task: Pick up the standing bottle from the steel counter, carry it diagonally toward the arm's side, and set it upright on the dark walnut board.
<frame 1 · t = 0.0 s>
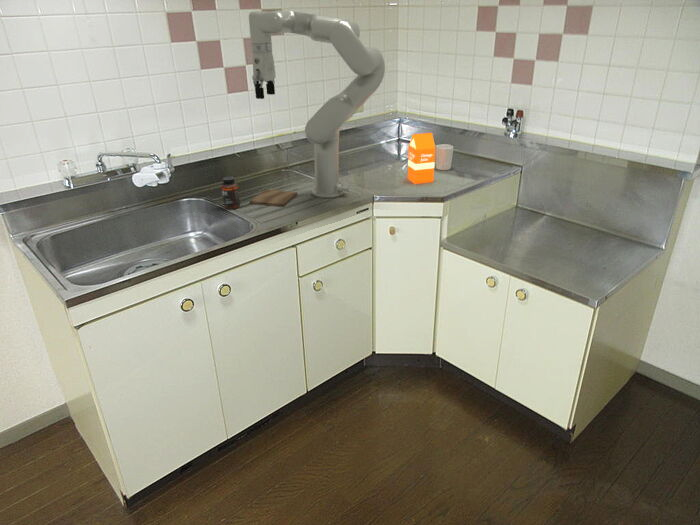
hand: (265, 96, 202), 37 cm above the worktop, tool pointing down, fingers open, 9 cm apart
supplement bottle: (232, 207, 200), on the worktop
walnut board: (274, 199, 207), on the worktop
orange juice: (420, 180, 226), on the worktop
white cup: (443, 168, 241), on the worktop
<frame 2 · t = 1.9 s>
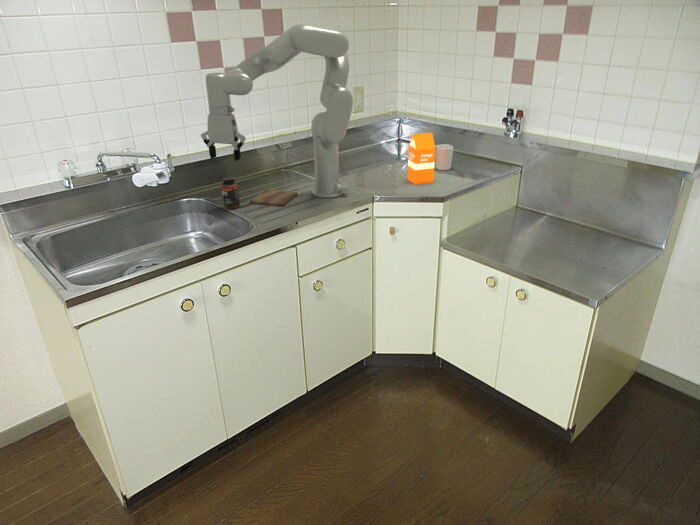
hand: (225, 158, 191), 19 cm above the worktop, tool pointing down, fingers open, 9 cm apart
nothing on the worktop moved.
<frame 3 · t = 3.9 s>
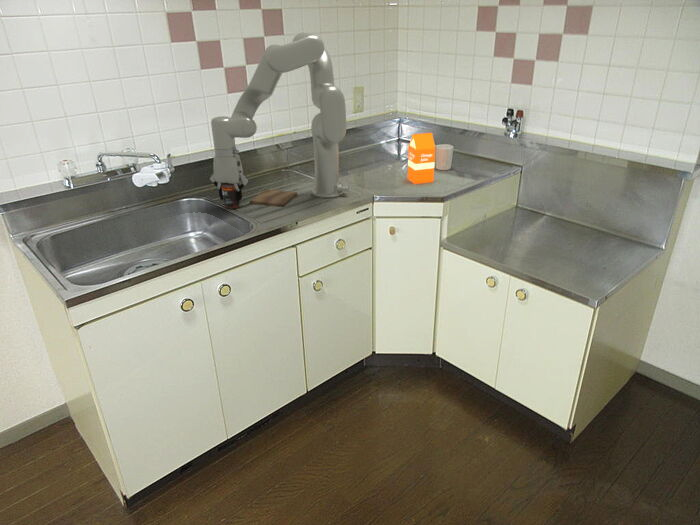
hand: (231, 198, 199), 3 cm above the worktop, tool pointing down, fingers closed on supplement bottle, 6 cm apart
supplement bottle: (232, 207, 200), on the worktop, touching gripper
everything else where it was.
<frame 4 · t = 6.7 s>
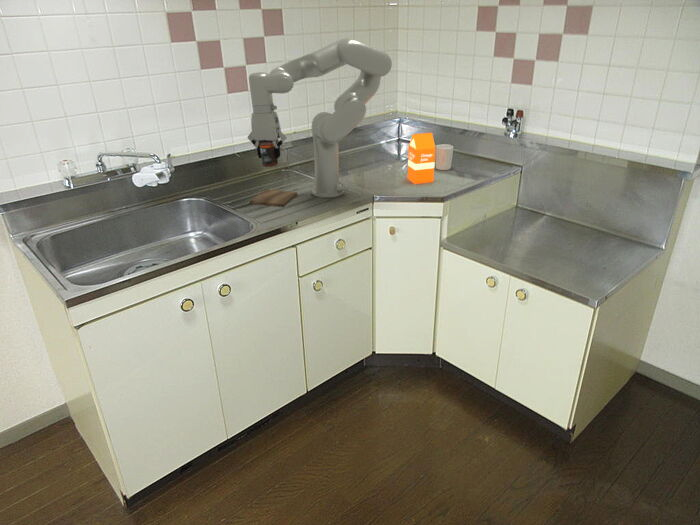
hand: (269, 157, 199), 17 cm above the worktop, tool pointing down, fingers closed on supplement bottle, 6 cm apart
supplement bottle: (270, 165, 201), point 14 cm above the worktop, touching gripper
everything else where it was.
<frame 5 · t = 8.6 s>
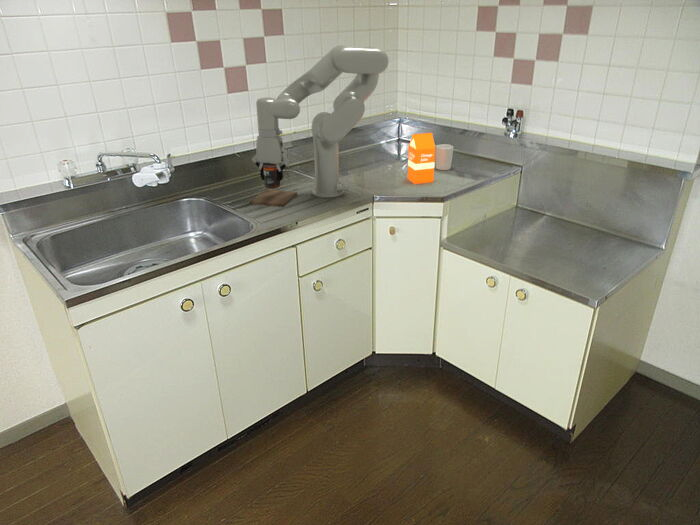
hand: (272, 179, 203), 8 cm above the worktop, tool pointing down, fingers closed on supplement bottle, 6 cm apart
supplement bottle: (272, 187, 205), point 5 cm above the worktop, touching gripper
everything else where it was.
when the fingers open (5 cm above the worktop, at t = 10.0 s): supplement bottle stays where it is, resting on walnut board.
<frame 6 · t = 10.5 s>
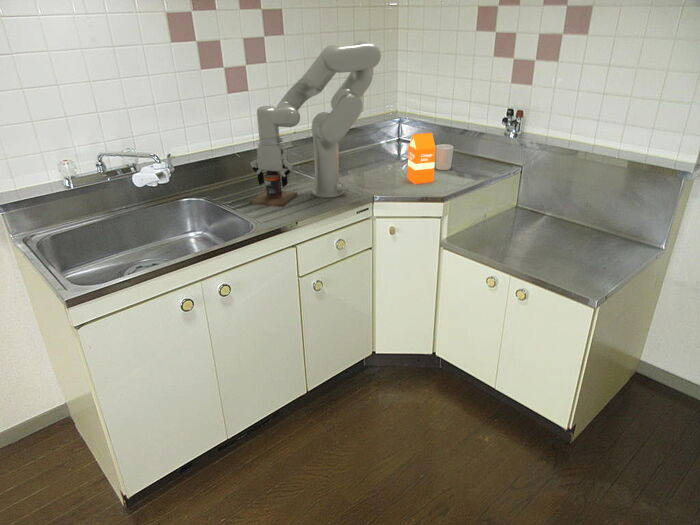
hand: (273, 184, 204), 6 cm above the worktop, tool pointing down, fingers open, 9 cm apart
supplement bottle: (274, 196, 207), point 1 cm above the worktop, touching walnut board
everything else where it was.
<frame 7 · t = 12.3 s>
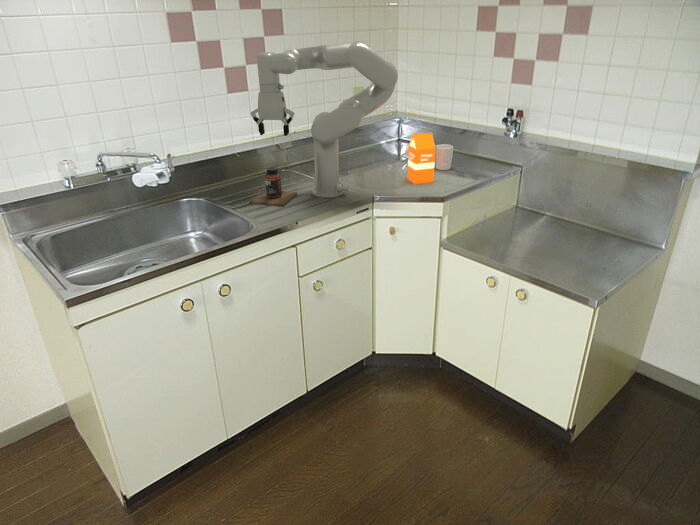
hand: (274, 134, 202), 24 cm above the worktop, tool pointing down, fingers open, 9 cm apart
nothing on the worktop moved.
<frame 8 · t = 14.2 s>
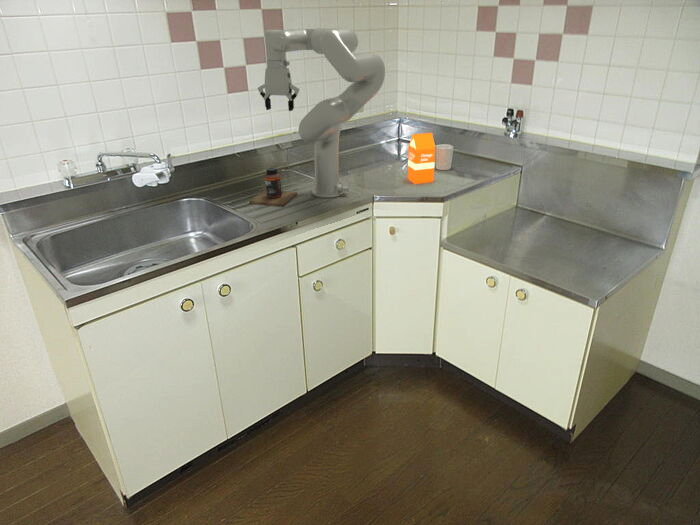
hand: (279, 109, 211), 30 cm above the worktop, tool pointing down, fingers open, 9 cm apart
nothing on the worktop moved.
at the end: supplement bottle inside the target area on the walnut board (0.1 cm from its centre), point 0.8 cm above the walnut board's base; supplement bottle tilted 0°; the gripper is holding nothing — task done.
